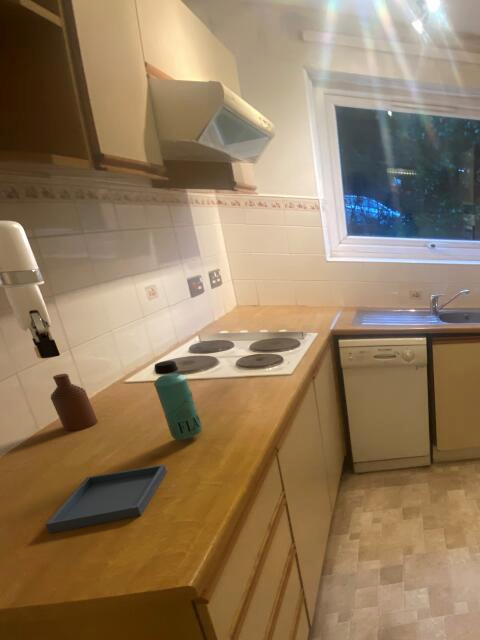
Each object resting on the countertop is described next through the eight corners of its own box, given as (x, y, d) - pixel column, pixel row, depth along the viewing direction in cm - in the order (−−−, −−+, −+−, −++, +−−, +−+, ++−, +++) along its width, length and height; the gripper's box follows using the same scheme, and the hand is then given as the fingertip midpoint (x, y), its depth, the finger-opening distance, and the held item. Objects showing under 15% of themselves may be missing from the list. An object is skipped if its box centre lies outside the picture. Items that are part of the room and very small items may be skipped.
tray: (49, 533, 76) (44, 524, 75) (90, 485, 89) (86, 477, 88) (141, 515, 81) (137, 506, 80) (167, 472, 94) (164, 464, 93)
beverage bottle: (181, 447, 103) (155, 369, 95) (167, 440, 106) (140, 364, 98) (210, 436, 108) (187, 360, 101) (196, 429, 111) (173, 356, 104)
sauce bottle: (59, 432, 109) (36, 381, 104) (72, 421, 115) (50, 372, 109) (91, 428, 111) (70, 378, 106) (102, 418, 117) (82, 369, 112)
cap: (39, 359, 103) (34, 348, 102) (36, 356, 105) (32, 345, 104) (62, 355, 106) (58, 344, 105) (59, 352, 108) (55, 341, 107)
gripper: (-10, 276, 101) (22, 351, 107) (-3, 284, 91) (32, 366, 98) (36, 273, 106) (64, 344, 113) (47, 280, 96) (77, 358, 103)
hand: (49, 354), depth 105 cm, fingers closed on cap, 4 cm apart
